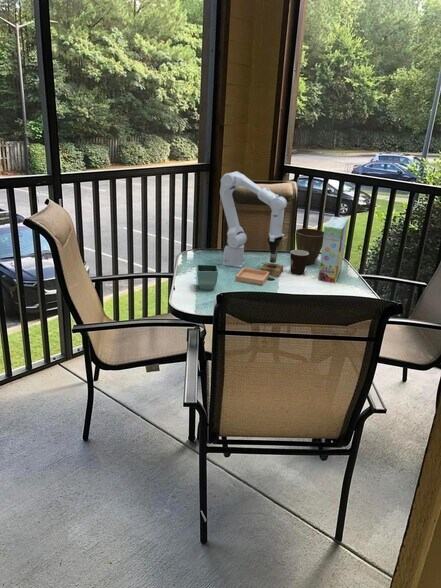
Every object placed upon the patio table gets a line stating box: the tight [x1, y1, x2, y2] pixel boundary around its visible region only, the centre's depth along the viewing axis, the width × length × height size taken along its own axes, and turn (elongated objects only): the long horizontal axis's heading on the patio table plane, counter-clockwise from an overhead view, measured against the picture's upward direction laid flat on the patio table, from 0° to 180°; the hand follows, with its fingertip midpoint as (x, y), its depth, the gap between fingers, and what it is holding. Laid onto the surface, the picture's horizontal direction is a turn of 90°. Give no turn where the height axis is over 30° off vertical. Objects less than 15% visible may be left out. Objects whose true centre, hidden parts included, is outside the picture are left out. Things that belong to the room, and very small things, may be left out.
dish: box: [234, 267, 270, 286], centre depth 208 cm, size 13×13×2 cm
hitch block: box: [260, 262, 284, 278], centre depth 217 cm, size 9×9×3 cm
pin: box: [269, 246, 279, 264], centre depth 214 cm, size 3×3×9 cm
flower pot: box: [196, 264, 219, 291], centre depth 194 cm, size 9×9×9 cm
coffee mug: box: [289, 249, 309, 276], centre depth 219 cm, size 12×9×10 cm
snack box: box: [317, 216, 349, 284], centre depth 214 cm, size 22×9×26 cm, turn 159°
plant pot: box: [295, 228, 324, 266], centre depth 231 cm, size 15×15×16 cm
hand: (273, 252), depth 214 cm, fingers closed on pin, 3 cm apart
